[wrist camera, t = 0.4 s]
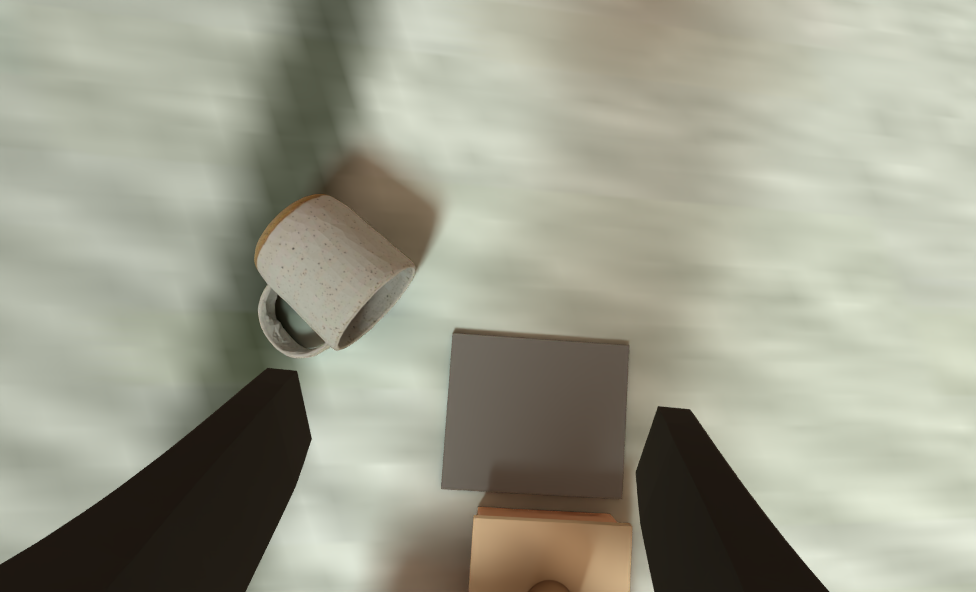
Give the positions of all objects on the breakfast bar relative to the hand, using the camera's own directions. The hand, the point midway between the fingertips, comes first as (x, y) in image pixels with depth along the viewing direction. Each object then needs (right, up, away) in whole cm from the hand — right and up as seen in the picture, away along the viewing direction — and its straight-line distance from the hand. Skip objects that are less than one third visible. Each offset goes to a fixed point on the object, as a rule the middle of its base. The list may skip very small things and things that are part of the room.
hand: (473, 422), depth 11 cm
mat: (+4, -6, +27) cm, 28 cm away
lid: (+4, -17, +23) cm, 29 cm away
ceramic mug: (-11, +3, +27) cm, 29 cm away
